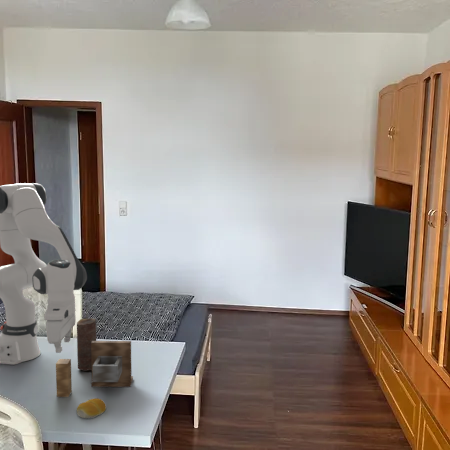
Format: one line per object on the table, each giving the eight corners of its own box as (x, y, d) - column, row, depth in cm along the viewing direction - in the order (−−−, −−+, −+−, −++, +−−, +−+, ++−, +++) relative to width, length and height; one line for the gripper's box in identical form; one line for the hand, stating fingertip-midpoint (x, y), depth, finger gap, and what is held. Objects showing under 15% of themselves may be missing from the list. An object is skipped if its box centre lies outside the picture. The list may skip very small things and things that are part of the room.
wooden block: (56, 396, 167) (55, 363, 166) (60, 391, 171) (59, 359, 170) (68, 396, 168) (67, 363, 166) (71, 391, 172) (70, 359, 170)
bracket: (85, 398, 167) (84, 353, 164) (95, 379, 181) (94, 337, 179) (126, 398, 167) (125, 353, 165) (132, 379, 182) (132, 337, 179)
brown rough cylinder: (91, 374, 185) (90, 324, 182) (73, 372, 186) (72, 322, 184) (100, 366, 192) (99, 317, 190) (83, 364, 194) (82, 316, 191)
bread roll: (110, 410, 160) (110, 399, 159) (88, 422, 152) (88, 410, 152) (94, 402, 164) (94, 391, 164) (72, 413, 157) (71, 402, 157)
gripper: (61, 299, 175) (63, 335, 177) (42, 317, 155) (44, 358, 157) (79, 299, 175) (80, 335, 177) (62, 317, 155) (63, 358, 157)
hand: (63, 346), depth 167 cm, fingers open, 8 cm apart
